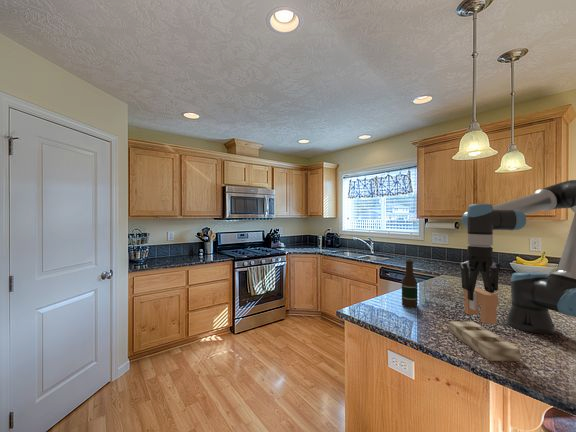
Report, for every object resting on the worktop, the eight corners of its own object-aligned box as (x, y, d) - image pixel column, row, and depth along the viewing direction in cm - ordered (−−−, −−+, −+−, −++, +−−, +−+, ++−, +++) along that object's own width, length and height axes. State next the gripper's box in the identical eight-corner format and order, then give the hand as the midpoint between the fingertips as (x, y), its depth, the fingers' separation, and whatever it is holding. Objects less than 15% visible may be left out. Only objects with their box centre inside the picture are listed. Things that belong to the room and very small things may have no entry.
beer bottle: (403, 302, 143) (403, 259, 143) (419, 305, 138) (419, 260, 138) (399, 306, 137) (399, 260, 137) (415, 309, 132) (415, 262, 132)
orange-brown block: (463, 311, 102) (463, 286, 102) (474, 312, 101) (474, 286, 102) (485, 324, 90) (485, 295, 90) (497, 324, 89) (497, 295, 90)
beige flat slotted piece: (474, 331, 106) (474, 321, 106) (520, 361, 84) (519, 348, 84) (449, 331, 107) (449, 321, 107) (488, 360, 85) (488, 348, 85)
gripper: (495, 245, 99) (495, 306, 99) (450, 244, 100) (449, 305, 100) (511, 247, 92) (511, 313, 91) (462, 246, 92) (462, 312, 92)
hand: (479, 309), depth 96 cm, fingers closed on orange-brown block, 4 cm apart
